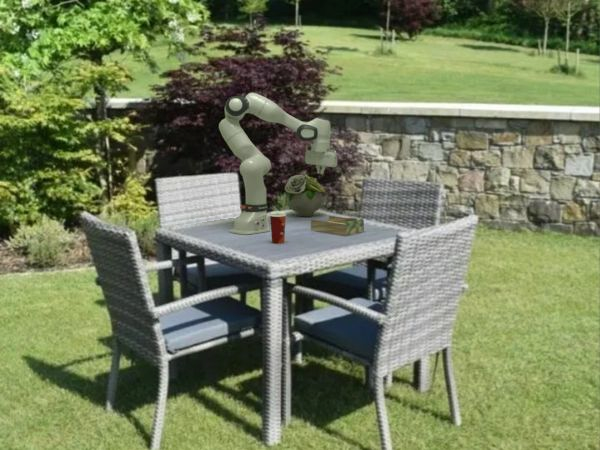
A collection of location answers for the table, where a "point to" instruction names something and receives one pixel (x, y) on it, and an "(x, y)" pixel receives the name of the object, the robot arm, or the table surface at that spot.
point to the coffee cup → (278, 226)
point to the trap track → (338, 226)
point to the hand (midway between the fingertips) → (320, 173)
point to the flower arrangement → (304, 194)
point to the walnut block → (350, 219)
